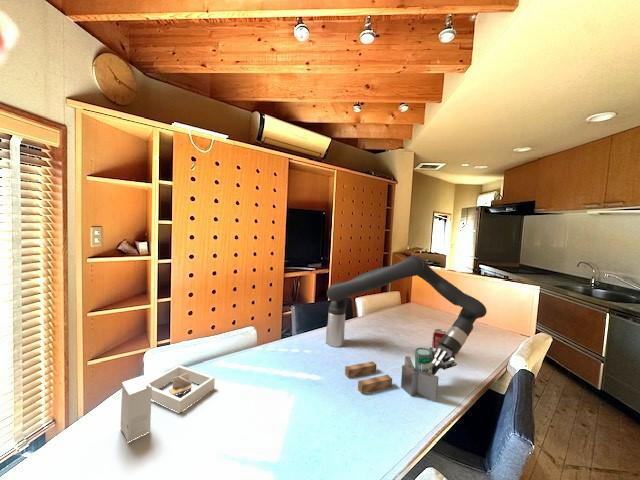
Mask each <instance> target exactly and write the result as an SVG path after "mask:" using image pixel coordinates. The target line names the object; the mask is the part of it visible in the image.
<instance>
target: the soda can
mask: <svg viewBox="0 0 640 480" xmlns="http://www.w3.org/2000/svg"><path fill="white" fill-rule="evenodd" d="M446 332H447V331H446V330H444V329H441V328H435V329H434V331H433V332H432V343H431V347H432V349H433V348H436V347H437V346H438V345H439V344H440V341H441V339H442V338H443V337H444V335H445V334H446ZM435 355H436V354H435Z"/></svg>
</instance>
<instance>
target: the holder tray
mask: <svg viewBox="0 0 640 480" xmlns="http://www.w3.org/2000/svg"><path fill="white" fill-rule="evenodd" d="M186 373H189V381H191V383H192V382H194V383H196V384H195V385H197V384H199V385H197V386H196V387H195V388H194V389H191V392H190V391H188V393H186V395H183V396H182V397H178V396H173V395H171V393H170V392H169V393H168V392H167V391H163V390H162V388H163V387H162V386H164V385H166V384H167V383H169V382H171V381H172V380H173V378H174V377H177V376H180V375H183V374H186ZM215 379H216V377H214V376H211V375H209V374H206V373H204V372H200V371H197V370H194V369H191V368H188V367H185V366H184V365H183V366H182V365H180V364H179V365H177V366H176V367H173V368H172V369H169V370H168V371H165V372H164V373H162V374H161V375H159V376H156V377H155V378H153V379H152V380H151V379H150V381H149V380H148V383H149V384H150V385H151V386H152V397H151V399H152V400H154V401H156V402H158V403H160V404H162V405H164V406H166V407H168V408H170V409H173V410H175V411H177V412H179V413H180V412H182V411H183V410H184V409H186V408H187V407H188V406H190V405H191V404H193V403H194V402H196V401H197V400H198V401H200V400H201V399H203V398H204V397H205V396H207V395H208V394H209V393H210V391H211V392H212V391H213V390H215V383H216V381H215ZM172 382H173V381H172ZM172 382H171V383H172ZM194 383H193V384H194ZM169 384H170V383H169ZM167 385H168V384H167ZM167 385H166V386H167ZM161 387H162V388H161ZM164 387H165V386H164ZM159 388H161V389H159ZM207 393H208V394H207ZM206 394H207V395H206ZM203 396H204V397H203ZM200 398H201V399H200ZM199 399H200V400H199ZM198 401H197V402H198ZM197 402H196V403H197ZM194 404H195V403H194ZM194 404H193V405H194ZM190 407H191V406H190ZM186 410H187V409H186ZM183 412H184V411H183ZM183 412H182V413H183Z"/></svg>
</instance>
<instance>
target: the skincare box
mask: <svg viewBox="0 0 640 480" xmlns="http://www.w3.org/2000/svg"><path fill="white" fill-rule="evenodd" d="M148 382H149V380H148V379H146V378H145V375H140V376H138V377H133V378H131V379H128V380H125V381H122V382H121V384H122V385H121V405H120V407H121V408H120V409H121V410H120V427H121V429H122V430H121V429H120V430H121V432H122V431H123V432H124V434H125V436H124V438H125V437H126V438H125V440H126V439H127V441H126V443H127V442H129V441H131V440H133V439H135V438H137V437H139V436H141V435H144V434H146V433H147V432H150V433H151V419H152V418H151V416H152V415H151V414H152V402H151V397H152V386H151V385H150V384H149V383H148ZM120 427H119V428H120ZM123 432H122V433H123ZM124 434H123V435H124ZM146 435H147V434H146ZM144 436H145V435H144Z"/></svg>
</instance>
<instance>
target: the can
mask: <svg viewBox="0 0 640 480" xmlns="http://www.w3.org/2000/svg"><path fill="white" fill-rule="evenodd" d="M414 368H416V369H419V370H421V371H424V372H427V373H430V374H432V352H431V350H429V348H426V347H419V346H418V347H416V348H415V349H414Z"/></svg>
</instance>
